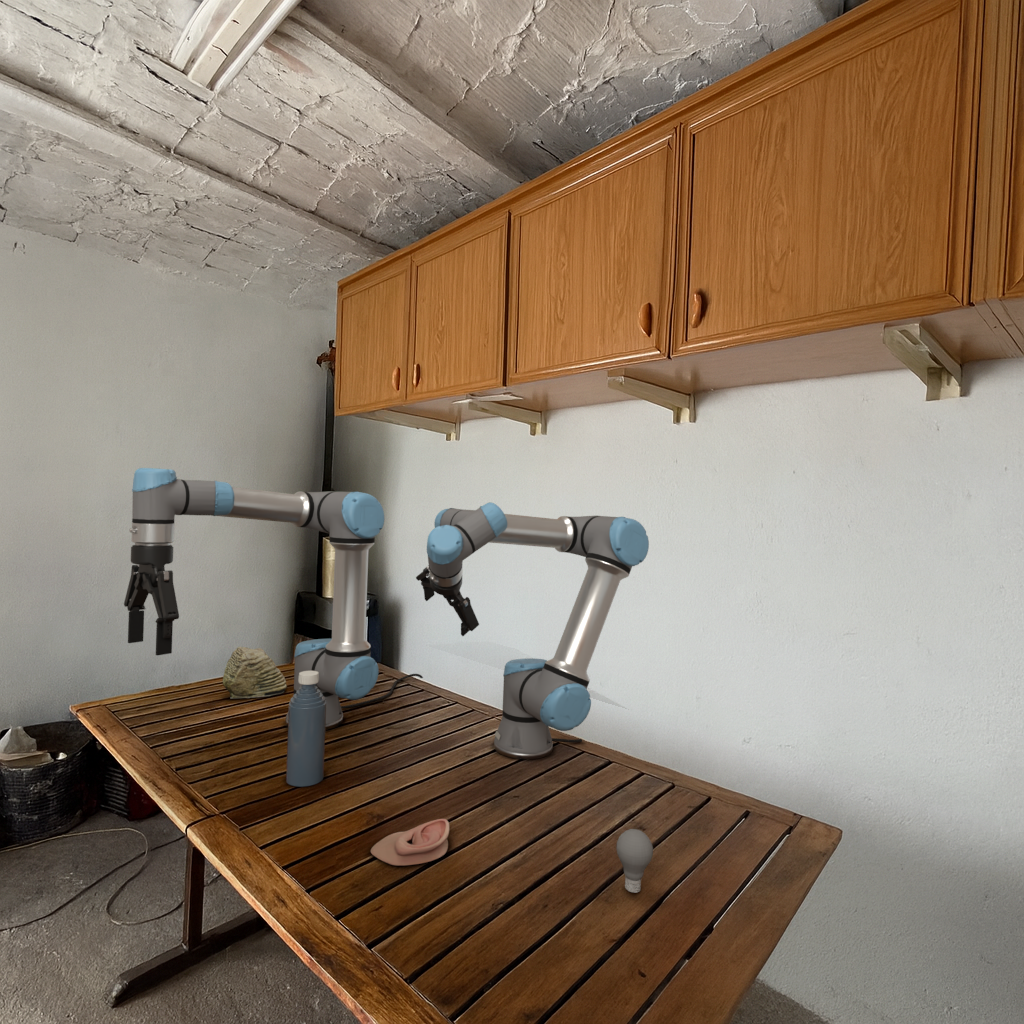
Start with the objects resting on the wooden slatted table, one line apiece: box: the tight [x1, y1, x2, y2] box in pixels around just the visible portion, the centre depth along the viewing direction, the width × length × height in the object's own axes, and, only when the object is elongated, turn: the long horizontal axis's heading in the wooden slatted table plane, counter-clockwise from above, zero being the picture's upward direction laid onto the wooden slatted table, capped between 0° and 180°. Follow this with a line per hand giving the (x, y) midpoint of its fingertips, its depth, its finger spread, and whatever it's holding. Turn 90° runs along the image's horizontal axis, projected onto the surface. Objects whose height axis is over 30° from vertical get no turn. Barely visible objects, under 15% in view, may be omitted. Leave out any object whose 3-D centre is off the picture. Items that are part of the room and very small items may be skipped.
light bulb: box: [615, 828, 654, 894], centre depth 106 cm, size 6×6×10 cm
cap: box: [299, 671, 319, 685], centre depth 141 cm, size 4×4×2 cm
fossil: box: [222, 646, 288, 699], centre depth 198 cm, size 9×18×15 cm, turn 132°
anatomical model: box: [370, 818, 450, 867], centre depth 115 cm, size 13×4×12 cm
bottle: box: [285, 684, 326, 788], centre depth 142 cm, size 8×8×23 cm
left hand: (149, 648), depth 129 cm, fingers open, 13 cm apart
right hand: (447, 614), depth 162 cm, fingers open, 13 cm apart
